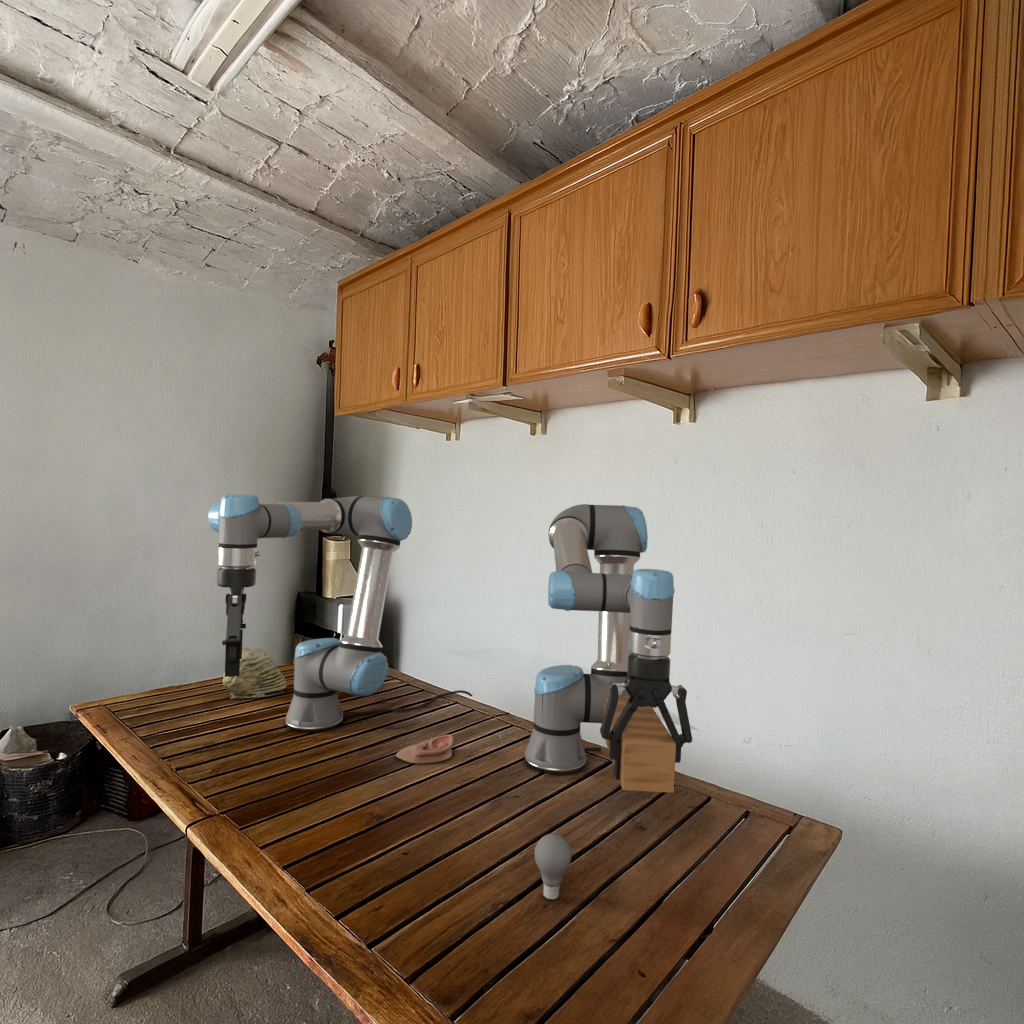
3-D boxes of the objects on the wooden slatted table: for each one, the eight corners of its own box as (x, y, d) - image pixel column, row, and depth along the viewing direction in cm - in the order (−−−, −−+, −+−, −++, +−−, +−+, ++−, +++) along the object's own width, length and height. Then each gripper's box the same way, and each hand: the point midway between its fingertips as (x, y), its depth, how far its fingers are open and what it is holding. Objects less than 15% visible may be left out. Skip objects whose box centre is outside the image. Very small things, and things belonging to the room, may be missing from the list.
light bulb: (530, 885, 106) (533, 826, 106) (566, 885, 106) (568, 826, 106) (534, 909, 100) (537, 846, 100) (572, 908, 100) (575, 846, 100)
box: (602, 734, 138) (604, 695, 138) (644, 736, 138) (645, 697, 138) (622, 790, 111) (624, 741, 111) (673, 792, 111) (676, 743, 111)
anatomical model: (391, 744, 153) (408, 727, 164) (390, 760, 153) (407, 743, 164) (443, 750, 150) (457, 733, 162) (443, 767, 150) (457, 749, 162)
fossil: (218, 695, 195) (220, 647, 195) (278, 685, 208) (279, 640, 207) (228, 703, 189) (230, 653, 188) (289, 692, 201) (290, 645, 201)
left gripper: (255, 574, 124) (251, 682, 124) (257, 561, 147) (253, 652, 147) (213, 574, 121) (209, 685, 121) (221, 561, 144) (218, 653, 145)
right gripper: (591, 656, 112) (586, 784, 112) (715, 662, 111) (709, 790, 111) (587, 647, 119) (582, 766, 119) (703, 652, 119) (697, 772, 119)
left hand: (233, 667), depth 134 cm, fingers open, 13 cm apart
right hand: (643, 778), depth 115 cm, fingers closed on box, 9 cm apart
